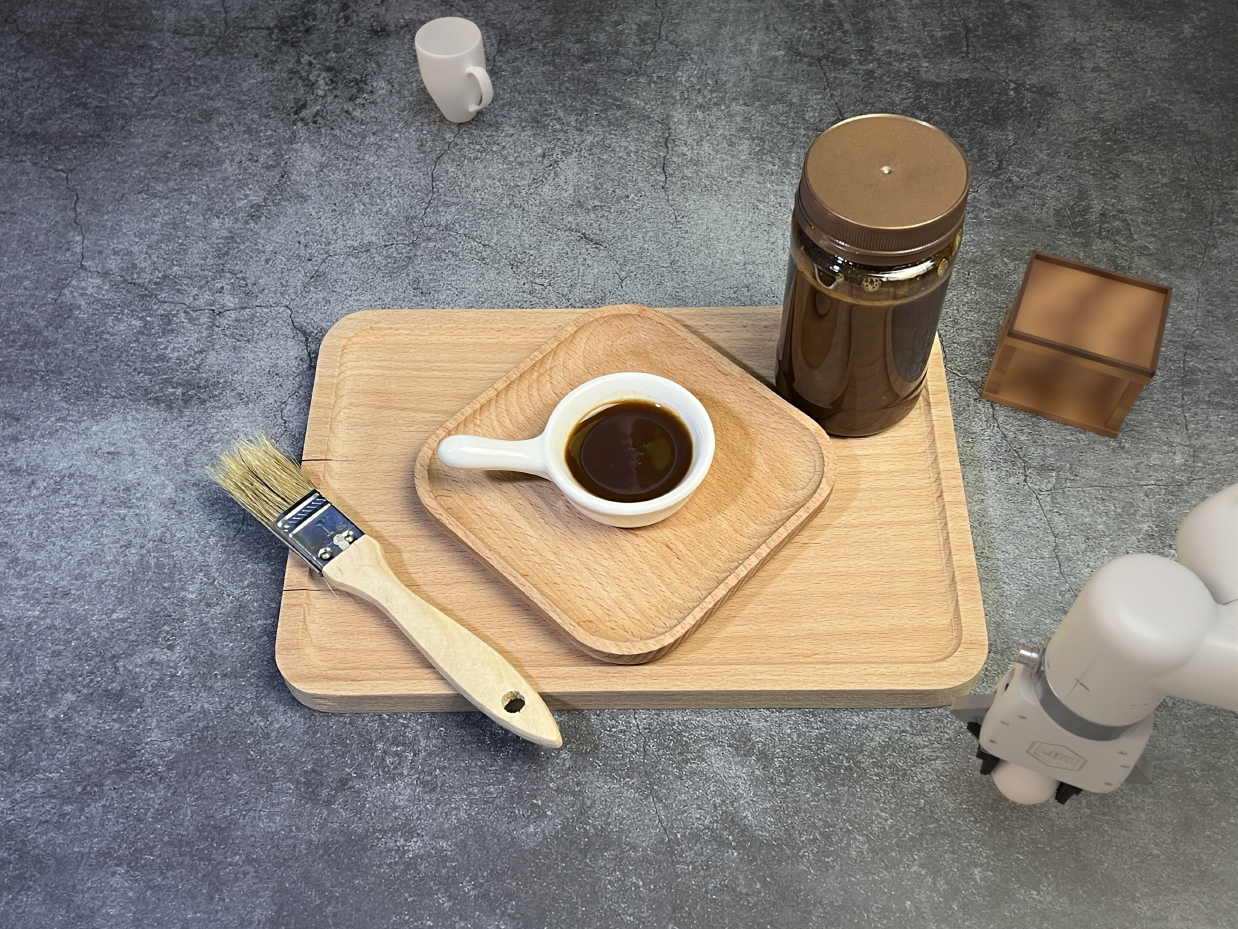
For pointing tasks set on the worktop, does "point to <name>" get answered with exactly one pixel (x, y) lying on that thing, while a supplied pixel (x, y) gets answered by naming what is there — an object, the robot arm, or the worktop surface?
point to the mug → (454, 67)
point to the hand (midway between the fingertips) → (1025, 771)
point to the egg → (1023, 783)
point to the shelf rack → (1078, 344)
